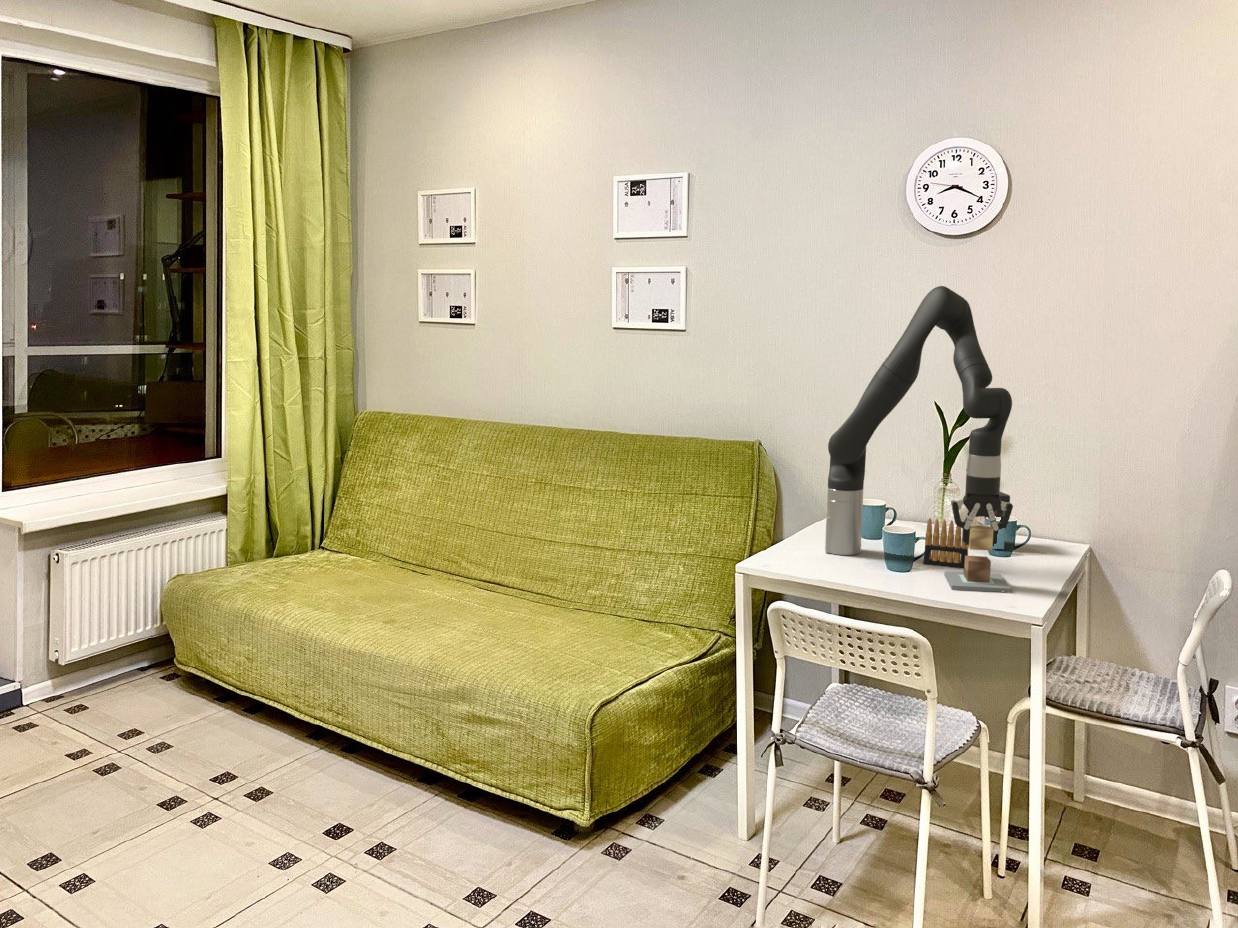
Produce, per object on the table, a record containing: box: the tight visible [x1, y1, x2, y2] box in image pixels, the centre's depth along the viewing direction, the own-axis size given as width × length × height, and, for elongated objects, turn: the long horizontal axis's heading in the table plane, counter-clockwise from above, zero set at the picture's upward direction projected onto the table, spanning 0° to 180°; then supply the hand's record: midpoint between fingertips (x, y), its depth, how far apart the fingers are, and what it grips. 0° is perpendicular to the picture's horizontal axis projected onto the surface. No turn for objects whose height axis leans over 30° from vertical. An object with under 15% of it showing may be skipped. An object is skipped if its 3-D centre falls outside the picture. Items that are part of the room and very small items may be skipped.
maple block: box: [967, 523, 993, 551], centre depth 238 cm, size 5×5×5 cm
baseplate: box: [943, 570, 1012, 593], centre depth 240 cm, size 13×13×1 cm
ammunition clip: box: [922, 517, 969, 570], centre depth 255 cm, size 11×2×12 cm, turn 65°
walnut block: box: [963, 555, 992, 583], centre depth 239 cm, size 5×5×5 cm
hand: (979, 544), depth 238 cm, fingers closed on maple block, 5 cm apart
